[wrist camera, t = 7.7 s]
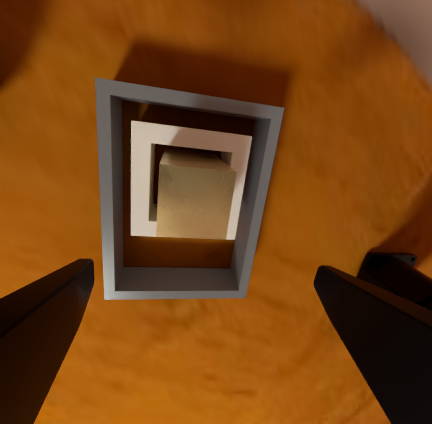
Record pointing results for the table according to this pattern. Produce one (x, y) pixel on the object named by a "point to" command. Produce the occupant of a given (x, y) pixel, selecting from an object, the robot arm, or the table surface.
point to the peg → (194, 195)
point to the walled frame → (144, 188)
